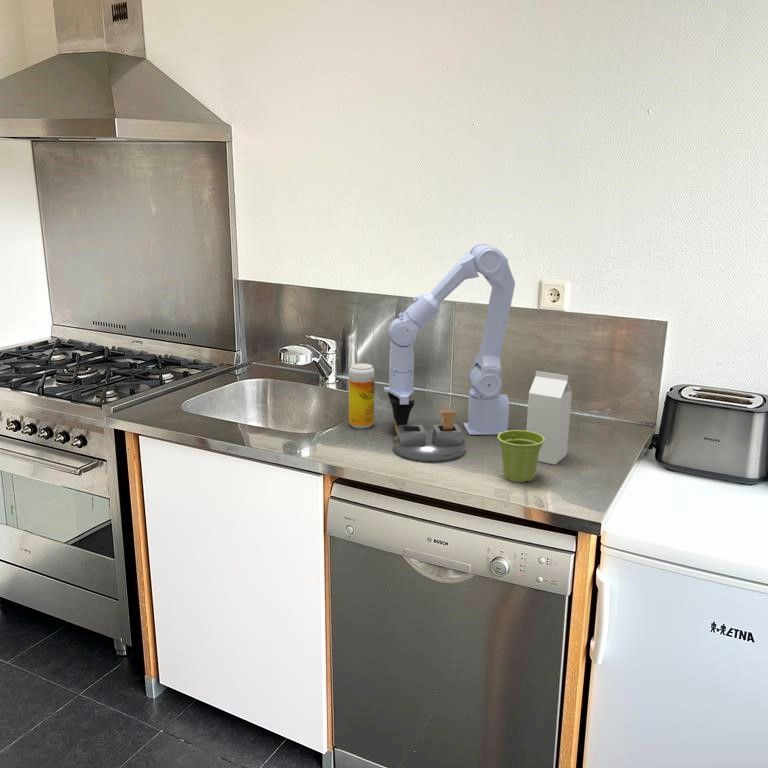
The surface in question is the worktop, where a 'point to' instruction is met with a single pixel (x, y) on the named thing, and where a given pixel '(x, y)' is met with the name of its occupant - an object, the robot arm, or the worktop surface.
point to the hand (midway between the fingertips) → (400, 424)
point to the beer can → (361, 395)
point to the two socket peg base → (430, 441)
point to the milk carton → (550, 414)
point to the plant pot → (520, 454)
